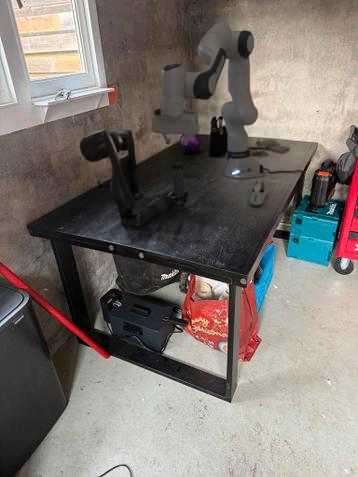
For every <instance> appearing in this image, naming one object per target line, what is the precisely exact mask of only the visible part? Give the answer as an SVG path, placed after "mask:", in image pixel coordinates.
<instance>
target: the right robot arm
mask: <svg viewBox="0 0 358 477" xmlns="http://www.w3.org/2000/svg"><path fill="white" fill-rule="evenodd" d="M254 48H255V36H254V34H253V33H252V32H251V31H250V30H245V29H243V30H232V29H231V27H230V26H229V25H228V24H227V23H226V22H222V21H220V22H216V23H215V24H213V26H212V27H210V28H209V29H208V31H207V32H205V34H204V35H203V37H202V38H201V40H200V41H199V44H198V47H197V53H198V57H199V59H200V60H201V61H202V62H203V63H204V64H205V65H207V66H208V67H207V69H206V70H204V71H192V72H191V71H187V70H184V69H183V66H182V64H180V63H171V64H167V65H164V67H163V68H162V70H161V80H160V82H161V93H162V105H161V106H159V107H157V108H154V109H152V115H153V117H152V119H151V126H152V131H153V133H154V134H161V136H162V138H163V140H164V143H165V145H171V139H170V138H168V135H181V136H182V135H184V137H186V138H185V140H184V141H182V143H183V145H185V146H186V145H187V140H188V139H189V137H190V135H196V134H198V133H199V132H200V126H199V113H198V112H197V111H195V110H194V109H193V110H189V109H186V99H193V100H194V99H196V100H204V101H209V99H211V98H212V97H213V95H214V94H215V92H216V89H217V84H218V82H219V78H220V77H221V74H222V71H223V69H224V66H225V65H226V60H228V61H227V91H228V93H229V94H230V97H231V100H229V101H226V102H224V103H223V104H222V105H221V108H220V116H222V117H223V122H224V126H226V130H227V137H228V148H227V152H226V154H225V159H226V165H225V169H224V172H223V174H224V176H225V177H228V178H232V179H233V178H234V179H237V180H243V179H250V178H258V177H259V178H260V177H263V176H264V175H265V172H264V170H265V171H267V172H268V173H269V174H277V173H298V172H300V173H302V174H305V171H304V170H301V169H297V170H295V169H294V170H277V171H270V169H268V168H265V167H264V165H263V164H260V162H259V161H258V160H257V159H256V158H255V157H254V156H251V155H252V154H253V152H252V151H251V150H249V149H247V147H248V146H249V144H248V143H249V134H248V132H247V130H246V128H245V126H246V127H249V126H252V125H254V124H255V123H256V122H257V120H258V118H259V110H258V108H257V107H256V105H255V104H254V100H253V96H252V91H251V62H250V56H251V54H252V53H253V51H254ZM198 135H199V134H198Z"/></svg>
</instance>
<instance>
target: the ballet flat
mask: <svg viewBox="0 0 358 477" xmlns="http://www.w3.org/2000/svg"><path fill="white" fill-rule="evenodd" d="M268 194H269V189H268V186H267V183H266V182H265V181H264V180H262V179H257V180H255V181H254V182H253V184H252V187H251V190H250V196H249V204H250V205H251V206H252V207H260V206H261V205H263V203H264V201H265V198H266V196H267V195H268Z"/></svg>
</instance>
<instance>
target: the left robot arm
mask: <svg viewBox="0 0 358 477" xmlns="http://www.w3.org/2000/svg"><path fill="white" fill-rule="evenodd" d="M79 150H80V154H81V155H82V157H83V158H84V159H85V160H86V161H87V162H90V163H97V162H99V161H102V160H105V159H109V161H110V165H111V176H110V177H111V178H110V179H111V180H110V184H100V180H99V181H98V180H97V184H98V186H99V187H110V193H111V197H112V199H113V200H114V203H115V205H116V207H117V209H118V215H119V220H120V223H121V226H122V227H123V229H124V230H126V231H127V232H144V231H145V230H147V229H148V228H149V227H150V226H151V225H152V223H153V222H155V221H156V220H158V219H160V218H162V217H163V216H165V215H166V214H168V213H169V212H171V211H172V210H173V209H174V208H175V206H176V205H177V204H180V205H181V206H184V205H185V204H186V203H187V201H188V200H187V198H189V193H188V191H184V194H182V195H180V196H179V195H177V196H174V191H173V192H172V191H171V192H169V191H167V192H164V193H161V194H158V195H157V198H156V199H154V200H152V201H151V202H149V203H148V204H147V205H144V206H143V207H142V208H141V209H140V210H139V212H137V213H133V210H134V209H135V207H136V205H137V204H136V203H137V202H136V200H137V199H139V198H140V197H141V193H140V183H139V174H138V168H137V167H138V166H137V159H136V149H135V136H134V133H133V131H132V130H131V129H123V130H122V129H121V130H113V131H107V130H106V129H101V130H98V131H96V132H93V133H90V134H87V135H86V136H83V138H81V139H80V142H79ZM123 151H124V152H127V153H126V154H124V155H122V156H120V157H119V154H118V153H120V152H123ZM180 198H181V199H180Z"/></svg>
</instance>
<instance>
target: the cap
mask: <svg viewBox="0 0 358 477" xmlns="http://www.w3.org/2000/svg"><path fill="white" fill-rule="evenodd" d="M172 169H173V170H174V169H181V170H182V169H183V162H182V161H174V162H173V163H172Z"/></svg>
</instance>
